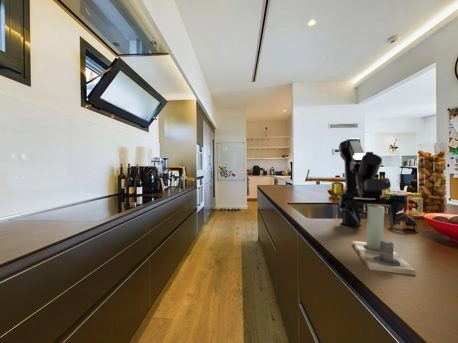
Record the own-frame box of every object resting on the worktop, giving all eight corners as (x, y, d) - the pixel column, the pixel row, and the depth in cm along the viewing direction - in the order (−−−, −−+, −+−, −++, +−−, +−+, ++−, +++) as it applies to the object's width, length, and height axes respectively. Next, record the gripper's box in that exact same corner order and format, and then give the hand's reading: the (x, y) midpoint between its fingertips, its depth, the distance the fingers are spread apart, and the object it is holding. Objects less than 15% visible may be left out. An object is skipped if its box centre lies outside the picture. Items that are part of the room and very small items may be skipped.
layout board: (352, 244, 80) (352, 226, 79) (385, 247, 77) (386, 228, 76) (369, 269, 60) (370, 245, 60) (415, 274, 58) (415, 249, 57)
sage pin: (363, 245, 74) (364, 205, 74) (375, 244, 75) (377, 205, 74) (372, 250, 70) (374, 208, 69) (386, 250, 70) (387, 208, 70)
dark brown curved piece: (417, 235, 91) (404, 216, 93) (393, 239, 99) (382, 222, 101) (425, 223, 98) (414, 206, 100) (402, 228, 106) (392, 212, 107)
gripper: (341, 169, 78) (347, 207, 68) (405, 169, 73) (422, 211, 62) (336, 190, 86) (341, 226, 76) (394, 191, 81) (408, 231, 70)
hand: (376, 224), depth 71 cm, fingers open, 9 cm apart
